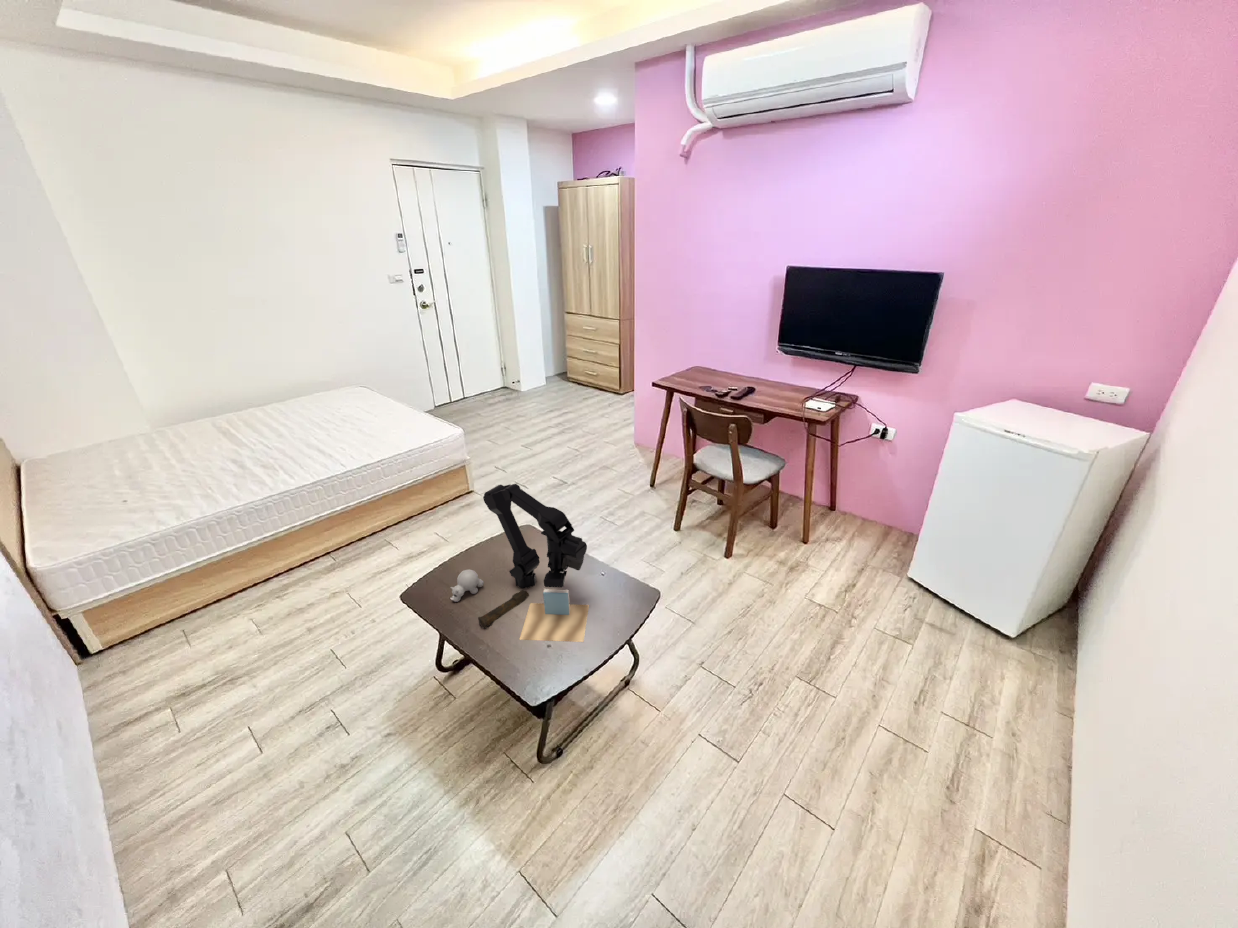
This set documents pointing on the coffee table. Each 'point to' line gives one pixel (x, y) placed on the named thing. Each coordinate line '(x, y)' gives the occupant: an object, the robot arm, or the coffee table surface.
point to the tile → (556, 602)
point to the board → (555, 624)
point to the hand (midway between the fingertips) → (559, 585)
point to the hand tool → (503, 609)
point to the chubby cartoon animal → (466, 584)
